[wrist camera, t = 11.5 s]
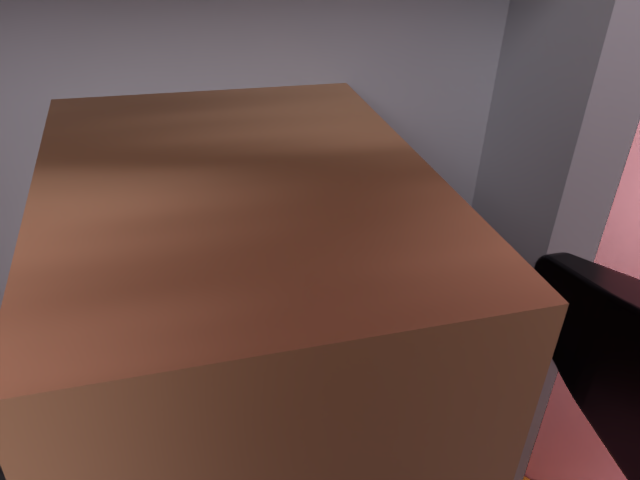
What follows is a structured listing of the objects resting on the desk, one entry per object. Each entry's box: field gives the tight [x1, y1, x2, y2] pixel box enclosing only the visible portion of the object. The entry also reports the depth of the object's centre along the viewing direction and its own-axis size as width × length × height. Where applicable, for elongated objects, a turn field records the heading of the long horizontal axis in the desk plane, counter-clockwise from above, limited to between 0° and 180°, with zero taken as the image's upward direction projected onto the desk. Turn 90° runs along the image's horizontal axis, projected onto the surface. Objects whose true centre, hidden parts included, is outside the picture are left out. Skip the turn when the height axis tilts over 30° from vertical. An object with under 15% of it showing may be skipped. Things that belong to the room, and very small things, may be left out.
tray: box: [0, 0, 640, 480], centre depth 10 cm, size 12×12×3 cm
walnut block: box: [0, 83, 569, 480], centre depth 8 cm, size 4×4×6 cm
